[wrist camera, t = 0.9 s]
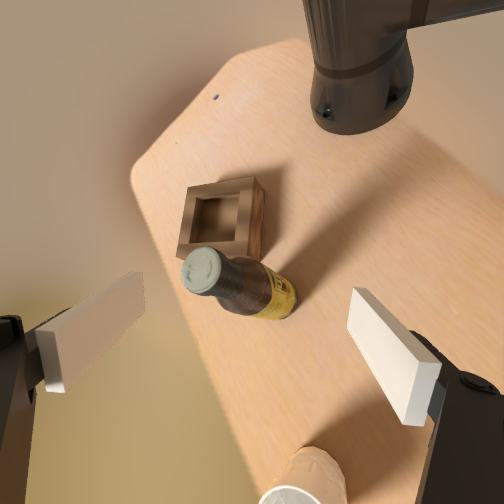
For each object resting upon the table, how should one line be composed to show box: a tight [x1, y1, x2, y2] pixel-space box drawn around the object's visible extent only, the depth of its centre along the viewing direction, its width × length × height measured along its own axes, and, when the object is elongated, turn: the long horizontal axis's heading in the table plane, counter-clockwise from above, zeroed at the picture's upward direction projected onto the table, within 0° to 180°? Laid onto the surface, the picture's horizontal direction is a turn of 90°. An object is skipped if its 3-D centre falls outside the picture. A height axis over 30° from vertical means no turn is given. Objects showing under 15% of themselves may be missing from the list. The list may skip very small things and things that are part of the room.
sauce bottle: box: [181, 246, 297, 320], centre depth 28 cm, size 6×6×20 cm
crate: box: [176, 176, 265, 261], centre depth 42 cm, size 13×13×5 cm
